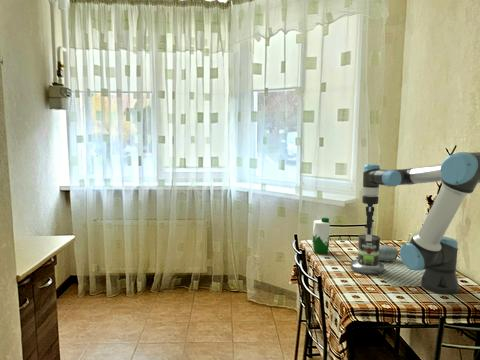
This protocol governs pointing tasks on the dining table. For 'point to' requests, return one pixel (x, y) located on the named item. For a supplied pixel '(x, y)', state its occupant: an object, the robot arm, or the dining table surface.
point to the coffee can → (368, 251)
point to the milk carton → (321, 236)
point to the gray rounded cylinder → (387, 253)
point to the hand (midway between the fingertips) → (368, 237)
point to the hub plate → (367, 268)
